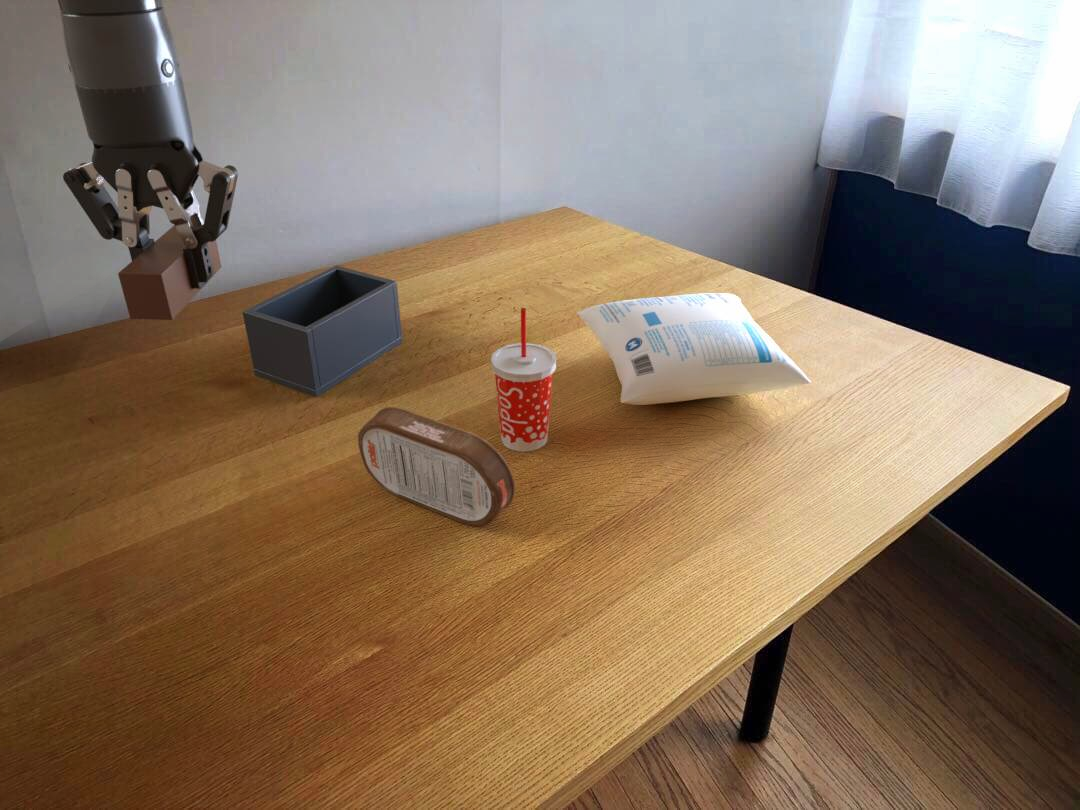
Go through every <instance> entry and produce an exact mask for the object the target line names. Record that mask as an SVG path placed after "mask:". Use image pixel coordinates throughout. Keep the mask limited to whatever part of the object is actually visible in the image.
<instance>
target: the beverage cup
mask: <svg viewBox="0 0 1080 810" xmlns="http://www.w3.org/2000/svg"><path fill="white" fill-rule="evenodd" d="M490 365H491V370H492V372H493V374H494V379H495V380H494V381H495V391H496V402H497V411H498V422H499V431H500V441H501V443H502V444H503V446H504V447H506V448H508V449H509V450H511V451H516V452H532V451H537V450H539V449H541V448H542V447H544V446H546V443H547V442H548V439H549V438H548V437H549V426H550V425H549V424H550V415H551V414H550V412H551V399H552V391H553V388H552V387H553V379H554V378H553V376H554V372H555V371H556V370H557V355H556V353H555V352H554V351H553V350H552V349H551V348H548V347H546V346H544V345H543V344H536V343H531V342H528V343H527V308H526V307H521V308H520V342H516V343H512V344H506V345H504V346H501V347H499V348H498V349H496V350H495V351H494V352H493V353H492V354H491V359H490Z"/></svg>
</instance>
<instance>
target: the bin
mask: <svg viewBox="0 0 1080 810" xmlns="http://www.w3.org/2000/svg"><path fill="white" fill-rule="evenodd" d="M398 289H399V288H398V281H397V280H393V279H389V278H385V277H381V276H378V275H373V274H369V273H367V272H364V271H363V272H362V271H359V270H355V269H351V268H348V267H344V266H340V265H334V266H332V267H330V268H328V269H326V270H324V271H322V272H320V273H318V274H315V275H314V276H312V277H309V278H308V279H306V280H304V281H302V282H299V283H298V284H295V285H294V286H291V287H290V288H287V289H285V290H283V291H281V292H279V293H277V294H275V295H273V296H271V297H269V298H267V299H265V300H263V301H260V302H259V303H256V304H255V305H252V306H251V307H248V308H247V309H245V310H243V311H242V316H243V322H244V327H245V332H246V336H247V337H246V338H247V342H248V347H249V352H250V358H251V362H252V363H251V364H252V367H253V373H254V376H256V377H259V378H262V379H264V380H266V381H269V382H273V383H276V384H278V385H280V386H284V387H286V388H289V389H291V390H295V391H297V392H301V393H304V394H306V395H308V396H312V397H314V398H317V397H319V396H320V395H322V394H324V393H326V392H327V391H328V390H330V389H331V388H333V387H334V386H336V385H338V384H339V383H341V382H343V381H344V380H345V379H347V378H349V377H350V376H352V375H353V374H355V373H357V372H358V371H359V370H361V369H363V368H364V367H366V366H368V365H369V364H371V363H372V362H374V361H375V360H378V358H380V357H382V356H384V355H385V354H386V353H388V352H390V351H392V350H393V349H394V348H396V347H397V346H399V345H401V344H402V343H403V333H402V323H401V313H400V312H401V311H400V302H399V301H400V300H399V290H398Z"/></svg>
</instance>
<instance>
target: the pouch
mask: <svg viewBox="0 0 1080 810" xmlns="http://www.w3.org/2000/svg"><path fill="white" fill-rule="evenodd" d="M576 314H577V315H578V316H579V318H580V319H581V320H582V321H583V323H584V324H585V325H586V326H587V328H588V329H589V330H590V331H591V332H592V334H593V335H594V336H595V337H596V339H597V340H598V342H599V343H600V346H601V347H602V348H603V350H604V351H605V353H606V355H607V356H608V357H609V358H610V359H611V361H612V362H613V365H614V368H615V372H616V375H617V377H618V379H619V382H620V384H621V393H620V397H619V402H620V403H622V404H627V405H633V406H643V405H645V406H647V405H656V404H657V405H659V404H668V403H678V402H685V401H686V402H687V401H693V400H701V399H708V398H709V399H710V398H719V397H733V396H735V397H736V396H742V395H750V394H759V393H760V394H761V393H768V392H775V391H781V390H788V389H793V388H796V387H802V386H805V385H808V384H811V383H812V381H811V379H809V378H808V376H807V375H806V374H805V373H804V372H803V371H802V370H801V369H800V368H799V367H798V365H797V364H795V362H794V361H793V360H792V359H791V358H790V357H789V356H788V355H787V354H786V353H785V351H783V350H782V349H781V347H780V346H778V344H777V343H776V342H775V341H774V340H773V339H772V337H770V335H768V333H766V332H765V331H764V330H763V328H761V326H759V324H757V323H756V321H754V319H753V318H752V316H751V314H750V313H749V312H748V310H747V309H746V307H745V306H744V304H742V302H741V298H739V297H738V296H737V295H736V294H732V293H725V292H708V293H706V292H705V293H704V292H702V293H688V294H679V295H678V294H677V295H669V296H668V295H667V296H655V297H654V296H653V297H642V298H641V297H640V298H634V299H625V300H618V301H617V300H616V301H611V302H606V303H600V304H596V305H592V306H589V307H587V308H584V309H582V310H579V311H577V312H576Z"/></svg>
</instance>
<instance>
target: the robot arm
mask: <svg viewBox="0 0 1080 810" xmlns="http://www.w3.org/2000/svg"><path fill="white" fill-rule="evenodd" d="M55 3H56V6H57V10H58V11H59V12H58V14H59V18H60V24H61V25H60V26H61V32H62V33H61V34H62V41H63V46H64V50H65V54H66V58H67V64H68V68H69V72H70V73H71V77H72V80H73V85H74V87H75V91H76V96H77V99H78V102H79V106H80V110H81V114H82V119H83V122H84V125H85V128H86V132H87V136H88V138H89V140H90V141H91V142H92V145H93V151H92V155H91V161H89V162H81V163H78V164H76V165H75V166H72V167H71V168H69V169H68V170H66V171H65V172H64V173H63V175H62V178H63V181H64V183H65V185H66V186H67V188H68V189H69V190H70V192H71V193H72V195H73V196H74V198H75V199H76V201H77V202H78V204H79V205H80V207H81V208H82V210H83V211H84V213H85V214H86V216H87V218H88V219H89V220H90V222H91V223H92V225H93V226H94V228H95V229H96V231H97V233H98V234H99V235H100V237H101V238H103V239H105V240H107V241H109V240H113V239H114V240H117V241H120V242H122V243H123V244H124V245H125V246H126V247H127V248H128V251H129V252H128V253H129V256H130V259H131V262H132V261H133V260H134V259H135V258H136V257H138V256H139V255H140V254H141V253H142V252H144V251H145V250H146V249H147V248H148V247H150V246H151V245H152V244H153V243H154V242H155V240H154V238H150V236H149V235H150V229H151V227H150V213H151V211H152V207H156V208H160V209H163V211H164V212H165V215H166V217H167V219H168V221H169V223H170V224H172V225H173V226H174V225H175V227H176V229H177V231H178V233H179V235H180V238H181V240H182V242H183V244H184V246H186V247H185V248H184V249H183V253H184V256H185V260H186V264H187V269H188V273H189V278H190V282H191V286H192V288H193V289H201V290H202V289H203V288H204V287H205V286H206V285H207V284H208V283H209V281H210V280H211V279H212V278H213V277H212V275H213V266H212V261H211V257H210V252H209V247H208V242H213V241H215V240H216V241H217V240H218V239H219V237H220V236H221V235H222V234H223V233H225V231H227V229H228V226H229V222H230V217H231V212H232V207H233V201H234V196H235V192H236V187H237V182H238V177H239V171H238V169H237V168H236V167H235V166H233V165H231V164H228V165H225V166H224V167H221V166H219V165H216V164H213V163H210V162H208V161H205V160H204V158H203V157H204V156H203V154H202V153H201V152H200V151H199V149H198V148H197V146H196V144H195V141H194V137H193V126H192V122H191V121H192V120H191V116H190V111H189V107H188V101H187V97H186V92H185V87H184V83H183V77H182V73H181V67H180V63H179V58H178V53H177V49H176V44H175V39H174V36H173V33H172V29H171V27H170V23H169V21H168V17H167V15H166V11H165V7H164V3H163V0H55ZM199 177H200V178H201V180H202V181H203V188H204V191H205V192H207V193H209V194H208V200H207V205H206V211H205V216H204V219H203V217H202V214H201V213H200V212H201V209H200V208H201V206H200V203H199V200H198V198H197V195H196V193H195V191H194V186H195V185H196V183H197V180H198V178H199ZM105 182H106V183H107V184H108V185H109V186H110V187H111V188H112V189H113V190H114V191H115V192H116V193H117V204H116V202H115V201H114V199H113V197H112V196H111V195H110V193H109V191H108V190H107V189H106V187H105ZM211 277H212V278H211ZM210 278H211V279H210ZM209 279H210V280H209ZM208 280H209V281H208Z"/></svg>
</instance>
